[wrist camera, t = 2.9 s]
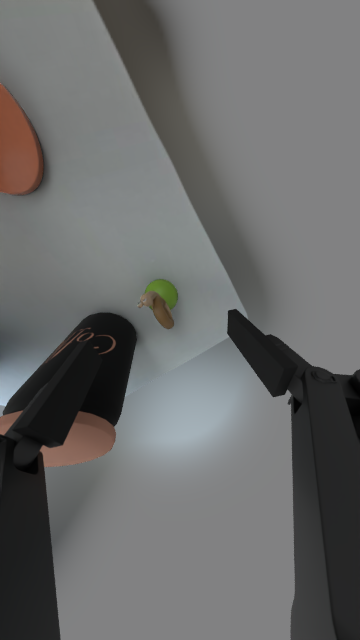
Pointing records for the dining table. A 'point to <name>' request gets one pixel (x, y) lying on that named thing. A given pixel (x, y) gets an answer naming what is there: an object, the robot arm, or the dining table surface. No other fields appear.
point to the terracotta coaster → (17, 149)
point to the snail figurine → (160, 301)
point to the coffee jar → (102, 398)
